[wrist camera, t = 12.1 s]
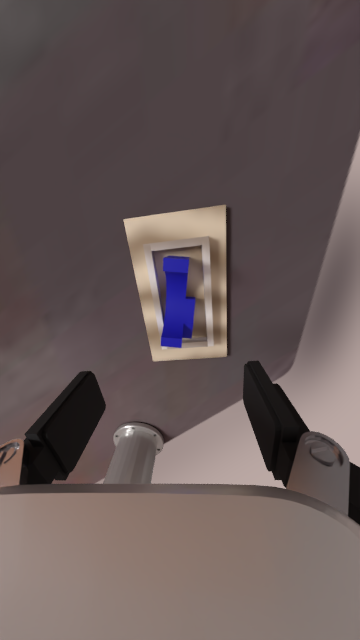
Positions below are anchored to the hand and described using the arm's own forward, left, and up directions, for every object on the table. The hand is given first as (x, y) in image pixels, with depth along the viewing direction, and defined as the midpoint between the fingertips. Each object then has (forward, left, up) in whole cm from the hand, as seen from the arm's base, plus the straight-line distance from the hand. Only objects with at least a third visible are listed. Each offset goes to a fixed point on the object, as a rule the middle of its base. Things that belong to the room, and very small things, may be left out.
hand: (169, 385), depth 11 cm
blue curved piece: (+1, 0, -19) cm, 19 cm away
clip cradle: (0, 0, -20) cm, 20 cm away
